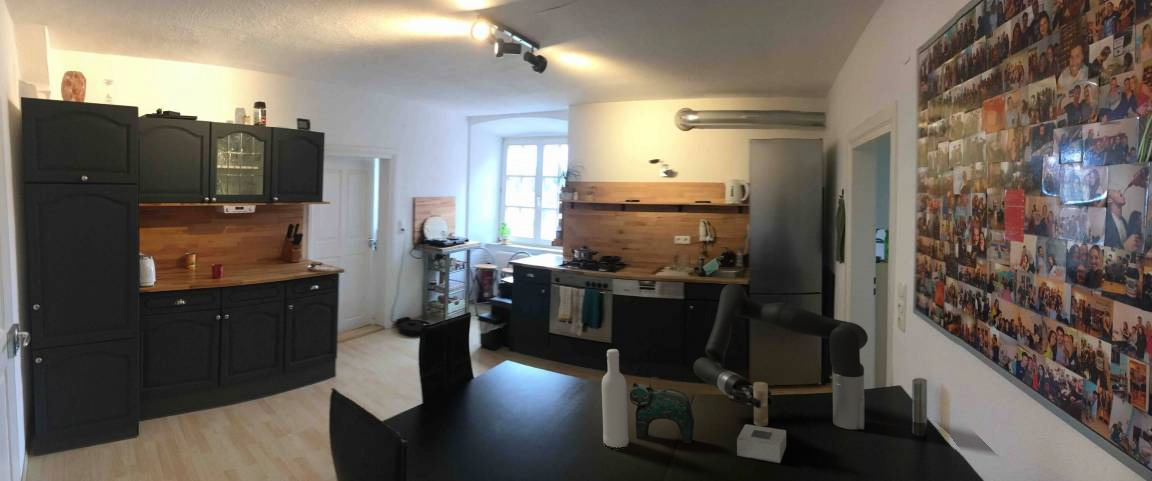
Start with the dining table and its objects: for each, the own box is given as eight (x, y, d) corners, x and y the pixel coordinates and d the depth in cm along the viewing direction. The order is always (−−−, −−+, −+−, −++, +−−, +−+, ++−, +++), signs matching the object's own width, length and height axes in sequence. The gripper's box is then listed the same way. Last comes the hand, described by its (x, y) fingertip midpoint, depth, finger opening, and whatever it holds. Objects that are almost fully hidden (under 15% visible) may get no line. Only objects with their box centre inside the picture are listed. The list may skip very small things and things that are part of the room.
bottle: (611, 451, 170) (608, 355, 168) (598, 442, 177) (595, 349, 175) (633, 445, 174) (630, 351, 172) (620, 436, 181) (617, 345, 179)
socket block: (786, 446, 170) (785, 430, 169) (780, 463, 159) (779, 446, 159) (745, 439, 175) (745, 424, 175) (737, 455, 165) (736, 439, 165)
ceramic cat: (630, 439, 179) (628, 377, 178) (635, 431, 185) (633, 371, 184) (692, 446, 172) (691, 382, 171) (695, 437, 178) (694, 376, 177)
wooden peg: (768, 421, 168) (768, 382, 167) (766, 426, 164) (766, 387, 163) (755, 419, 170) (754, 381, 169) (752, 424, 166) (752, 385, 165)
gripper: (714, 376, 178) (745, 394, 161) (753, 371, 182) (787, 388, 165) (714, 399, 178) (745, 419, 162) (753, 394, 182) (787, 412, 166)
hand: (766, 403), depth 164 cm, fingers closed on wooden peg, 4 cm apart
